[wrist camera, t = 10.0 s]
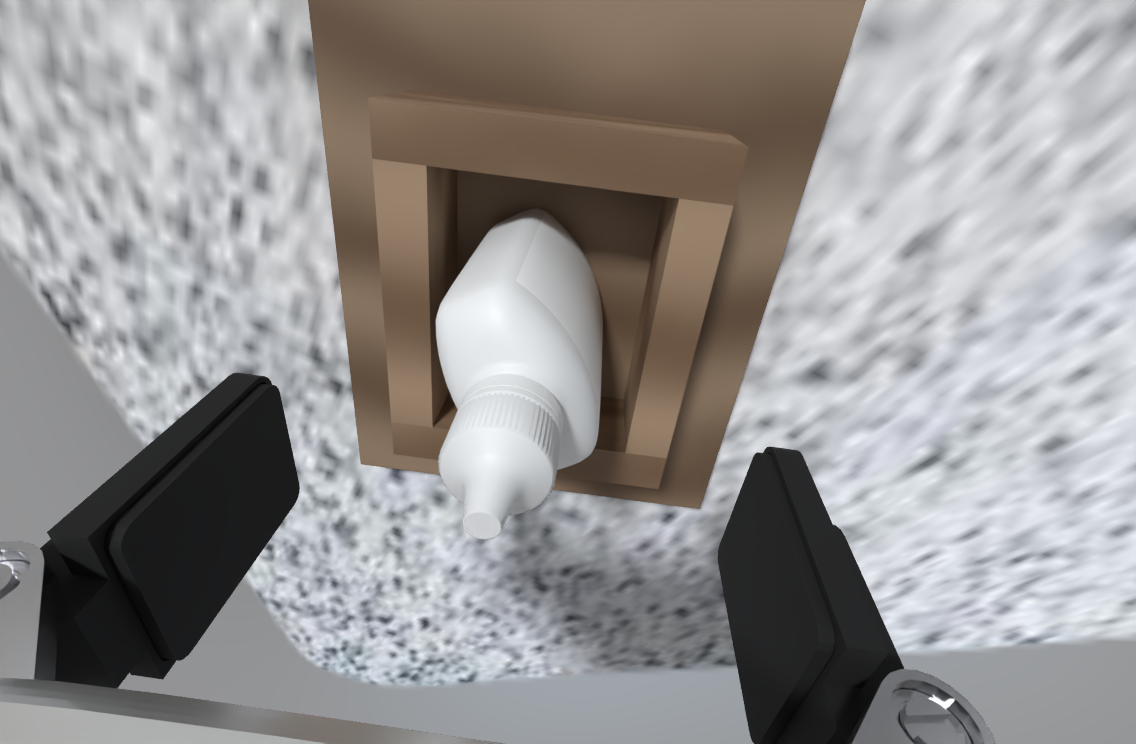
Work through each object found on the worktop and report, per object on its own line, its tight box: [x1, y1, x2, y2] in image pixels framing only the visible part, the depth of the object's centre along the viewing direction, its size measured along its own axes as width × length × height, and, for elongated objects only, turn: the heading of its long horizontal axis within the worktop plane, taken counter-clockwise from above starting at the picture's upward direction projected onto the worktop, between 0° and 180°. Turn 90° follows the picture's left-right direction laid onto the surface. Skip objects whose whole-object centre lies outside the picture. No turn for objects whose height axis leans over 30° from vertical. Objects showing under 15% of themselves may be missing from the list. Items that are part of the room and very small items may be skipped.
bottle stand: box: [308, 0, 866, 509], centre depth 19 cm, size 20×16×5 cm
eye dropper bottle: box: [436, 208, 603, 539], centre depth 15 cm, size 4×6×12 cm
